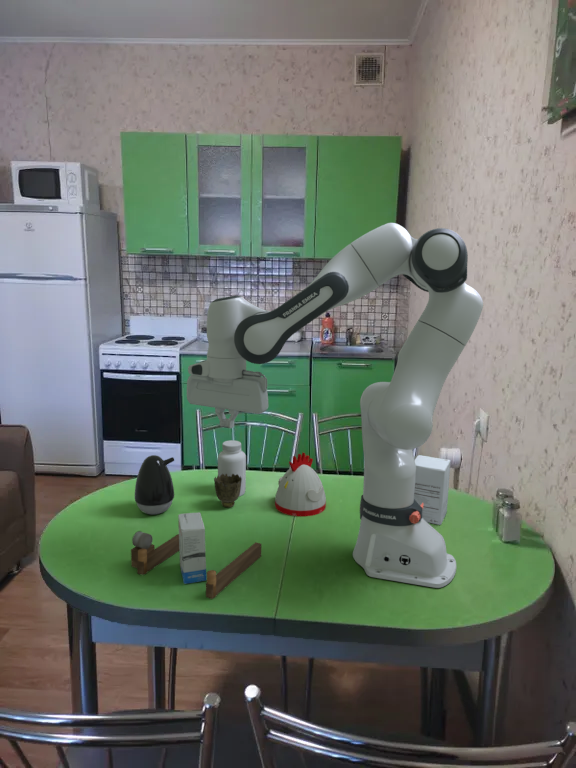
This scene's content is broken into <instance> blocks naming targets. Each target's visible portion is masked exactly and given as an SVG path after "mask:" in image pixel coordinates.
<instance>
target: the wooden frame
mask: <svg viewBox="0 0 576 768" xmlns="http://www.w3.org/2000/svg"><path fill="white" fill-rule="evenodd" d="M153 540H154V538H153V535H152V534H150V533H147V532H143V531H141V530H140V531H139V530H138V531H137V532H135V534H133V537H132V541H131V542H132V546H134V547H133V548H131V549H130V559H131V561H130V562H131V568H134V569H136V572H137V574H138V575H141V576H144V575H147V574H148V573H149V572H150V571H152V570H153V569H155V568H156V567H157V566H159V565H160V564H162V563H163V562H164V561H166V560H168V559H169V558H171V557H172V556H174V555H175V554H177V553H178V552H179V533H178V534H176V535H174V536H173V537H171V538H169V539H168V540H167V541H165V542H164V543H162V544H160V545H158V546H157V547H156V548H155V544H153ZM261 557H262V543H260V542H257V541H256V542H254V543H253V544H252V545H251V546H249V547H248V548H247V549H245V550H244V551H243V552H242V553H240V554H239V555H237V557H236V558H234V559H233V560H232V561H231V562H229V563H228V564H227V565H226V566H224V568H222V569H221V570H220V571H219V572H217V571H216V570H214V569H209V570H207V571H206V579H207V580H206V582H205V598H207V599H210V600H213V599H215V598H216V597H217V596H218V594H220V593H221V592H222V591H224V589H226V588H227V587H228V586H229V585H230V584H232V583H233V581H235V580H236V579H237V578H238V577H239V576H240V575H241V574H243V572H245V571H246V570H247V569H249V567H251V566H252V565H253V564H254V563H256V562H257V561H258V560H259V559H260V558H261ZM225 587H226V588H225Z"/></svg>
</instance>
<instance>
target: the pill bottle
mask: <svg viewBox="0 0 576 768" xmlns="http://www.w3.org/2000/svg"><path fill="white" fill-rule="evenodd" d="M246 468H247V455H246V453H245V452H244V451H243V450H242V443H241V441H239V440H235V439H234V440H231V439H230V440H225V441H223V442H222V451H220V452H219V454H218V456H217V476H218V475H219V477H220V475H221V474H222V473H223V474H224V475H225V474H227V476H228V477H229V476H231V477H232V474H234V475H237V474H238V475H239V477H240V476H241V478H242V481H241V490H240V495H239V497H241V496H243V495H244V494H246V488H247V487H246V483H247V482H246V481H247V480H246V478H247V477H246V476H247V474H246V473H247V469H246Z"/></svg>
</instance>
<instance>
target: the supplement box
mask: <svg viewBox="0 0 576 768" xmlns="http://www.w3.org/2000/svg"><path fill="white" fill-rule="evenodd" d="M414 460H415V464H416V476H415V490H414V499H415V501H416V502H417V503H418V504H419V505H421V504H422V503H423V511H422V518H423V519H424V520H425V521H426V522H427V523H428V524H434V525H440V526H441V525H442V524H443V521H444V519H445V518H446V517H445V516H446V514H447V513H448V501H449V488H450V487H449V486H450V475H451V459H446V458H439V457H433V456H428V455H417V456H416V457H415V458H414Z"/></svg>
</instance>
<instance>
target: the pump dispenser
mask: <svg viewBox="0 0 576 768" xmlns="http://www.w3.org/2000/svg"><path fill="white" fill-rule="evenodd" d="M173 462H175V457H169V458H167V459H163V458H162V457H161V456H159V455H156V454H154V455H149V456H148V457H146V458H145V459H144V460H143V462H141V463H142V464H141V465H140V468H139V470H138V474H137V476H136V481H135V485H134V486H135V487H134V501H135V503H136V505H137V507H138V509H139V510H140V511H141V512H142V513H144V514H147V515H159V514H162V513H164V512H166V511H168V509H169V508H170V507H171V505H172V504H173V501H174V498H175V488H174V482H173V478H172V476H171V475H172V474H171V472H170V469H169V467H168V465H169V464H171V463H173Z"/></svg>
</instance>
